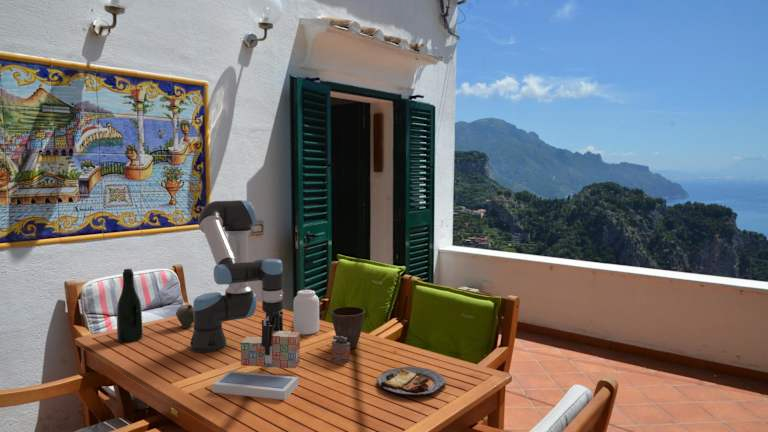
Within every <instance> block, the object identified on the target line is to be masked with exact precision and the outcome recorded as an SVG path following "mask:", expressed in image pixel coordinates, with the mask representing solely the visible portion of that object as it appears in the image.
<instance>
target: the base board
mask: <svg viewBox="0 0 768 432" xmlns="http://www.w3.org/2000/svg"><path fill="white" fill-rule="evenodd" d="M211 385H212V393H216V394H218V393H219V394H227V395H235V396H243V397H244V396H245V397H253V398H263V399H270V400H271V399H272V400H273V399H274V400H280V401H281V400H282V401H285V400H286V399H287V398H288V397H289V396H290V395H291V394H292V393H293V392H294V391H295V390H296V389H297V387H298V386H299V376H298V377H297V376H289V375H280V374H279V375H278V374H268V373H257V372H245V371H238V370H228V372H227V373H225V374H224V375H222V376H221V377H220V378H218V379H217V380H215V382H213V383H212V384H211Z"/></svg>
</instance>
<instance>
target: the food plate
mask: <svg viewBox="0 0 768 432" xmlns="http://www.w3.org/2000/svg"><path fill="white" fill-rule="evenodd" d="M428 381H430V382H432V383H431V384H430V383H428ZM376 383H377V384H378V387H380V388H382V389H383V390H385V391H388V392H392V393H395V394H397V395H405V396H406V395H407V396H408V395H410V396H411V395H412V396H423V395H424V396H426V395H427V394H432V393H435V392H436V391H438V390H439V389H441V387H443V385H445V384H446V383H447V379H446V378H445V377H444V376H443V375H442V374H440V373H439V372H437V371H435V370H432V369H429V368H425V367H420V366H398V367H395V368H391V369H387V370H385V371H384V372H383V373H381V374H380V375H378V376H377V378H376ZM427 383H428V384H427Z"/></svg>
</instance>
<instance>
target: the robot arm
mask: <svg viewBox="0 0 768 432" xmlns="http://www.w3.org/2000/svg"><path fill="white" fill-rule="evenodd" d="M256 221H257V217H256V211H255V208H254V205H253V204H252V203H251V201H249V200H241V199H240V200H239V199H238V200H237V199H236V200H215V201H212V202H210V203H207V204H206V205H205V206H204V207H203V208H202V210H201V211H200V212H199V215H198V221H197V222H198V226H199V229H200V231H201V232H202V233H203V234H204V235H205V236H204V237H206V241H207V243H208V246H209V249H210V251H211V254H212V257H213V260H214V262H215V264H216V265H215V266H214V268H213V277H214V282H215V283H216V285H228V287H226V289H225V290H224V291H225V292H224V293H225V294H221V293H220V292H219V291H218V292H217V291H214V292H208V293H204V294H201V295H198V296H196V297H195V298H194V300H193V303H192V304H193V305H192V307H193V311H194V322H193V326H194V327H193V334H192V336H191V339H190V342H189V343H190V344H189V348H190V351H191V352H194V353H211V352H216V351H221V350H222V349H224V348H226V346H227V339H226V335H225V333H224V330H223V324H222V323H224V322H227V321H236V320H237V321H238V320H244V319H247V318H252V317H253V316H254V314H255V312H256V308H257V304H258V303H257V302H258V301H257V295H256V293H255V292H254V291H253V290H252V288H251V286H250V285H249V283H250V282H258V281H261V288H262V289H261V299H262V303H261V304H262V305H261V306H262V307H261V308H262V311H263V312H264V313H265V319H262V320H261V338H262V343H261V346H264V347H265V363H272V346H271V341H272V334H273V331H284V323H283V317H284V316H283V314H284V312H283V308H284V306H283V295H284V292H283V269H284V267H283V262H282V260H281V259H279V258H267V259H260V258H259V259H255V260H254V261H249V245H248V244H249V238H248V236H249V233H251V231H252V227H254V226H255V225H256Z"/></svg>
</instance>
